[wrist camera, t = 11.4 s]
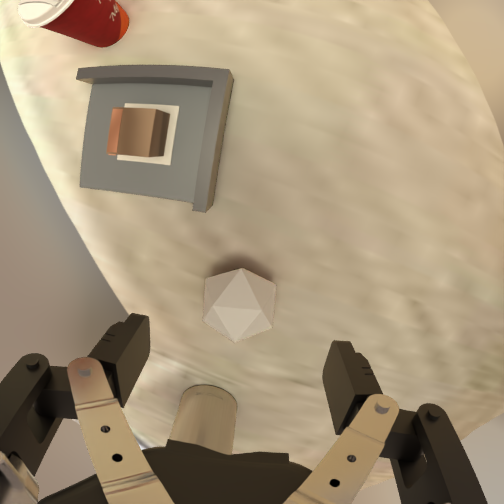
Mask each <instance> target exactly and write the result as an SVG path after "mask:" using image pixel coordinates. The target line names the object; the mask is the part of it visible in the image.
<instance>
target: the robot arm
mask: <svg viewBox="0 0 504 504" xmlns="http://www.w3.org/2000/svg"><path fill="white" fill-rule="evenodd" d="M149 353H150V325H149V317H148V316H145V315H140V314H135V313H131V314H130V316H129V317H128V318H127V320H126V321H125V322H124V323H123V322H118V323H116V324H114V325H112V326H111V327H110V328H109V329H108V330H107V332H106V333H105V334H104V336H103V337H102V338H101V340H100V341H99V342H98V343H97V345H96V346H95V347H94V349H93V350H92V352H91V353H90V354H89V355H88V356H87V357H82V358H77V359H75V360H73V361H72V362H71V363H70V364H69V365H68V367H58V366H50V365H49V361H48V359H47V358H46V357H45V356H44V355H41V354H37V353H32V354H28V355H25V356H23V357H22V358H21V359H20V360H19V361H18V362H17V363H16V364H15V366H14V367H13V368H12V369H11V371H10V372H9V373H8V374H7V375H6V377H5V378H4V379H3V380H2V381H1V383H0V504H351V503H352V501H353V500H354V498H355V497H356V495H357V493H358V492H359V490H360V489H361V487H362V485H363V484H364V482H365V480H366V479H367V477H368V475H369V473H370V472H371V470H372V468H373V466H374V464H375V463H376V461H377V459H378V457H384V458H390V461H391V465H392V468H393V472H394V476H395V479H396V484H397V488H398V492H399V496H400V500H401V504H487V501H486V498H485V496H484V493H483V491H482V488H481V486H480V484H479V481H478V479H477V477H476V474H475V472H474V470H473V468H472V466H471V463H470V461H469V459H468V457H467V455H466V452H465V450H464V448H463V446H462V444H461V442H460V440H459V438H458V436H457V434H456V432H455V430H454V428H453V426H452V424H451V422H450V420H449V418H448V416H447V414H446V412H445V411H444V410H443V409H442V408H441V407H439V406H437V405H435V404H430V403H427V404H423V405H421V406H420V407H419V409H418V410H417V412H413V411H407V410H402V409H399V406H398V404H397V402H396V401H395V400H394V399H392V398H391V397H389V396H387V395H383V393H382V390H381V388H380V386H379V384H378V382H377V380H376V377H375V375H374V373H373V371H372V369H371V367H370V364H369V362H368V360H367V359H366V358H365V357H364V356H363V355H362V354H361V353H355V351H354V348H353V346H352V344H351V342H350V341H335V340H334V341H333V342H332V344H331V347H330V350H329V353H328V356H327V359H326V362H325V365H324V369H323V384H324V388H325V392H326V396H327V400H328V404H329V408H330V412H331V417H332V421H333V425H334V429H335V434H336V435H340V437H339V438H338V440H337V441H336V442H335V444H334V445H333V446H332V448H331V449H330V450H329V452H328V453H327V454H326V455H325V457H324V458H323V459H322V461H321V462H320V463H319V464H318V466H317V467H316V468H315V469H314V470H313V471H312V470H310V469H308V468H306V467H304V466H302V465H300V464H297V463H294V462H290V461H289V454H288V453H271V452H253V453H243V454H233V455H232V449H233V440H234V431H235V422H236V413H237V403H236V401H235V399H234V398H233V397H232V396H231V395H230V394H229V393H228V392H226V391H224V390H222V389H220V388H218V387H214V386H208V385H199V386H194V387H191V388H189V389H188V390H186V391H185V392H184V394H183V396H182V399H181V402H180V405H179V408H178V412H177V414H176V418H175V421H174V424H173V428H172V431H171V434H170V438H169V439H168V441H167V444H166V447H153V448H148V449H144V450H141V449H140V447H139V445H138V443H137V441H136V439H135V437H134V435H133V433H132V431H131V429H130V427H129V424H128V422H127V420H126V418H125V416H124V414H123V411H122V409H121V408H124V406H125V404H126V402H127V400H128V398H129V396H130V394H131V392H132V390H133V387H134V385H135V383H136V381H137V379H138V377H139V375H140V373H141V371H142V369H143V367H144V365H145V363H146V361H147V359H148V357H149ZM63 418H67V419H78V420H79V423H80V427H81V430H82V433H83V436H84V440H85V443H86V446H87V449H88V451H89V455H90V457H91V460H92V463H93V465H94V468H95V471H96V474H94V475H92V476H90V477H88V478H86V479H84V480H82V481H80V482H78V483H76V484H74V485H72V486H69V487H67V488H65V489H63V490H61V491H58V492H56V493H54V494H51V495H49V496H47V497H45V498H43V499H42V500H40V501H39V502H38V494H39V485H38V482H37V481H36V479H35V478H34V476H35V474H36V472H37V470H38V468H39V466H40V463H41V461H42V459H43V457H44V455H45V453H46V451H47V449H48V447H49V445H50V443H51V441H52V439H53V437H54V435H55V433H56V431H57V429H58V428H59V425H60V424H61V422H62V420H63ZM424 455H425V457H424ZM425 458H426V459H425ZM426 461H427V462H426Z"/></svg>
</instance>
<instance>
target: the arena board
mask: <svg viewBox="0 0 504 504" xmlns="http://www.w3.org/2000/svg"><path fill="white" fill-rule="evenodd" d="M76 80H80V81H83V82H87V83H90V84H93V85H92V90H91V95H90V101H89V106H88V113H87V119H86V126H85V134H84V142H83V151H82V161H81V173H80V187H81V188H90V189H98V190H106V191H114V192H121V193H129V194H136V195H144V196H151V197H158V198H165V199H171V200H178V201H185V202H191V203H193V209H192V210H193V211H199V212H205V213H206V212H207V210H208V209H209V208H210V207H211V206H212V205H213V200H214V193H215V186H216V180H217V173H218V167H219V161H220V154H221V148H222V142H223V137H224V131H225V125H226V119H227V114H228V108H229V103H230V97H231V92H232V87H233V82H234V79H233V76H232V74H231V72H230V70H229V69H220V68H209V67H195V66H177V65H118V66H100V67H87V68H78V73H77V77H76ZM113 107H126V108H150V109H158V110H161V111H163V112H166V113H169V114H170V119H169V125H168V132H167V138H166V145H165V151H164V156H160V157H139V156H129V155H117V154H106V150H107V142H108V134H109V127H110V121H111V114H112V108H113Z"/></svg>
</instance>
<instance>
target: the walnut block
mask: <svg viewBox="0 0 504 504" xmlns="http://www.w3.org/2000/svg"><path fill="white" fill-rule="evenodd" d="M169 119H170V114H169V113H166V112H163V111H161V110H158V109H150V108H126V107H113V108H112V114H111V121H110V127H109V134H108V142H107V150H106V154H117V155H129V156H139V157H160V156H164V151H165V145H166V138H167V132H168V125H169Z"/></svg>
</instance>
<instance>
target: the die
mask: <svg viewBox="0 0 504 504" xmlns="http://www.w3.org/2000/svg"><path fill="white" fill-rule="evenodd" d="M276 286H277V285H276V284H274V283H272V282H270V281H268V280H266V279H264V278H262V277H260V276H258V275H256V274H254V273H252V272H250V271H248V270H246V269H244V268H240V269H237V270H233V271H230V272H226V273H222V274H219V275H215V276H212V277H208V278H206V281H205V293H204V306H203V320H202V321H203V322H204V323H206V324H207V325H209V326H210V327H212V328H213V329H215V330H216V331H218V332H219V333H221V334H222V335H224V336H225V337H227V338H228V339H230V340H231V341H233V342H234V343H236V342H238V341H241V340H244V339H246V338H249V337H251V336H254V335H256V334H259V333H261V332H263V331H266V330H268V329H271V328H273V318H274V307H275V297H276Z"/></svg>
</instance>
